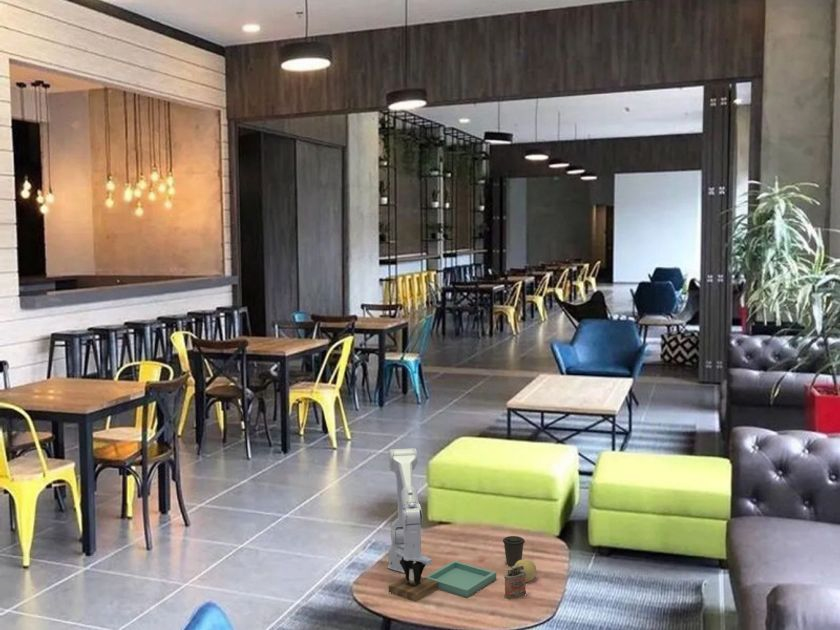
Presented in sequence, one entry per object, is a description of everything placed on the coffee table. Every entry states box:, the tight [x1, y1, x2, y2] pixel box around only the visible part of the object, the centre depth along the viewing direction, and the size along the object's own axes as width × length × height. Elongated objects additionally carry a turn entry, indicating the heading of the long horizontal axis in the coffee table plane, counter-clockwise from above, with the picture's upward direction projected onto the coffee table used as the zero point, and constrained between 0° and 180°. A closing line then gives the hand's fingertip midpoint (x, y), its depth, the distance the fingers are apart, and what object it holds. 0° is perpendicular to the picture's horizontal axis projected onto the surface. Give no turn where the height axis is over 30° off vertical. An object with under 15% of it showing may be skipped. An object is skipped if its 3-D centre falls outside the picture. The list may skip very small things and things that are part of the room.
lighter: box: [503, 565, 527, 600], centre depth 274 cm, size 8×3×10 cm, turn 117°
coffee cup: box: [502, 535, 526, 568], centre depth 299 cm, size 8×8×10 cm
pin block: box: [388, 576, 439, 602], centre depth 279 cm, size 12×12×2 cm
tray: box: [423, 560, 497, 599], centre depth 285 cm, size 18×18×3 cm
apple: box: [514, 558, 537, 583], centre depth 286 cm, size 8×8×8 cm
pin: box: [409, 566, 418, 587], centre depth 279 cm, size 3×3×8 cm
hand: (413, 581), depth 279 cm, fingers closed on pin, 3 cm apart
